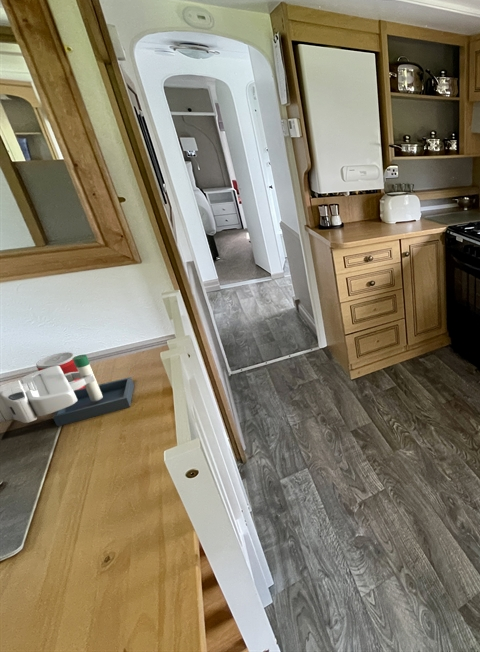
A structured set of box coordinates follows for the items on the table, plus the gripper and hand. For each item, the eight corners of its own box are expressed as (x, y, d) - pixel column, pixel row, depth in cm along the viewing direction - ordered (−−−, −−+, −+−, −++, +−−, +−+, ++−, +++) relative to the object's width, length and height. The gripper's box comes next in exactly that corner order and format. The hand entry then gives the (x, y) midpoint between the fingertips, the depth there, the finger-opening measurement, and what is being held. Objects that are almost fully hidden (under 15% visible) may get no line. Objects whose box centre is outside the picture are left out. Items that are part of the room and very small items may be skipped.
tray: (57, 426, 97) (52, 417, 96) (68, 401, 107) (63, 392, 106) (130, 407, 105) (126, 397, 104) (134, 385, 115) (131, 376, 114)
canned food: (88, 380, 117) (75, 349, 113) (86, 392, 111) (72, 360, 107) (53, 389, 112) (38, 357, 108) (49, 402, 106) (33, 369, 102)
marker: (89, 402, 104) (71, 360, 99) (91, 397, 106) (73, 356, 101) (102, 399, 105) (85, 357, 100) (104, 394, 107) (87, 353, 102)
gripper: (17, 393, 100) (87, 371, 110) (27, 426, 89) (105, 398, 99) (6, 373, 98) (79, 353, 108) (16, 404, 86) (96, 378, 97)
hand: (91, 374), depth 103 cm, fingers closed on marker, 2 cm apart
